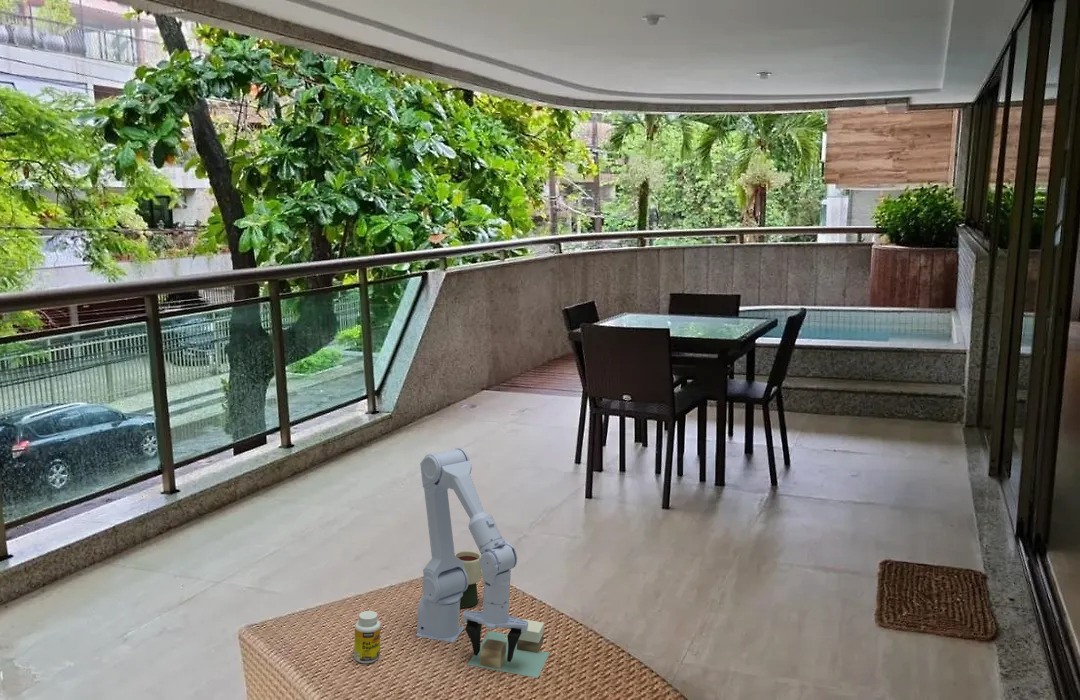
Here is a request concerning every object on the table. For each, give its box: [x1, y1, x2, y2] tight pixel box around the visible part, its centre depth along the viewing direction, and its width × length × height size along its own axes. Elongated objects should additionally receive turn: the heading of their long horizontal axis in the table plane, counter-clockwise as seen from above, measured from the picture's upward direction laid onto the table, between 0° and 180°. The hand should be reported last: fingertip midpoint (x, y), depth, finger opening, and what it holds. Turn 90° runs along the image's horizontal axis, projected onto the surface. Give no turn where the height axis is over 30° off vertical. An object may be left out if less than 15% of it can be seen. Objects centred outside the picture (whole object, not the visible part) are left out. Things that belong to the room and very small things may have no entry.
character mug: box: [454, 550, 482, 608], centre depth 214 cm, size 11×7×13 cm, turn 82°
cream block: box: [519, 619, 545, 643], centre depth 194 cm, size 5×5×2 cm
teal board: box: [467, 630, 551, 679], centre depth 191 cm, size 16×16×1 cm
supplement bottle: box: [353, 610, 382, 664], centre depth 186 cm, size 6×6×10 cm
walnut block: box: [517, 632, 545, 653], centre depth 195 cm, size 5×5×2 cm
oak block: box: [480, 639, 507, 669], centre depth 187 cm, size 4×4×4 cm
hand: (493, 656), depth 187 cm, fingers open, 7 cm apart
